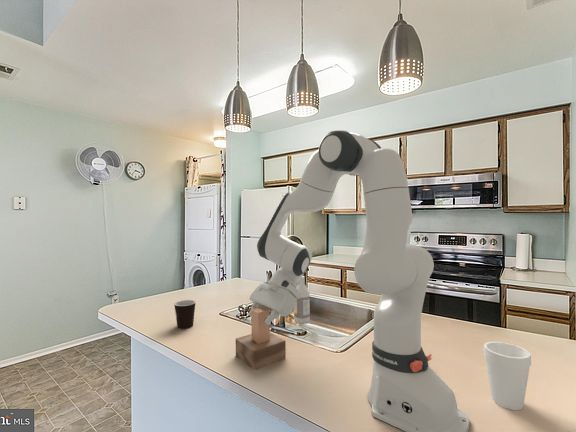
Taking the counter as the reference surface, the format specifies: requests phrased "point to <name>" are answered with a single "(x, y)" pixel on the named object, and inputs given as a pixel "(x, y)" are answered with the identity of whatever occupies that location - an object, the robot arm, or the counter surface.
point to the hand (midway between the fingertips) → (257, 319)
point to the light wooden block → (260, 325)
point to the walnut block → (260, 351)
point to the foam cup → (507, 373)
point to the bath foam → (302, 304)
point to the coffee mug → (185, 313)
